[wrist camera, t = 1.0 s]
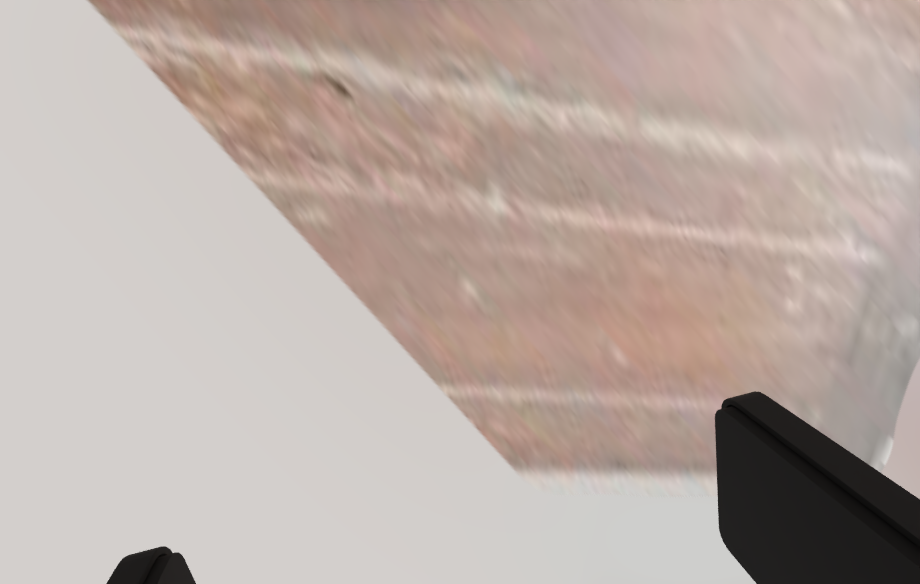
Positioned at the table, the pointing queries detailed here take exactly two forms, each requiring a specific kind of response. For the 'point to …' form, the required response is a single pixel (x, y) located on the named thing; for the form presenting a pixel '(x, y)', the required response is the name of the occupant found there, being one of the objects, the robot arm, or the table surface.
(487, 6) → the table surface
